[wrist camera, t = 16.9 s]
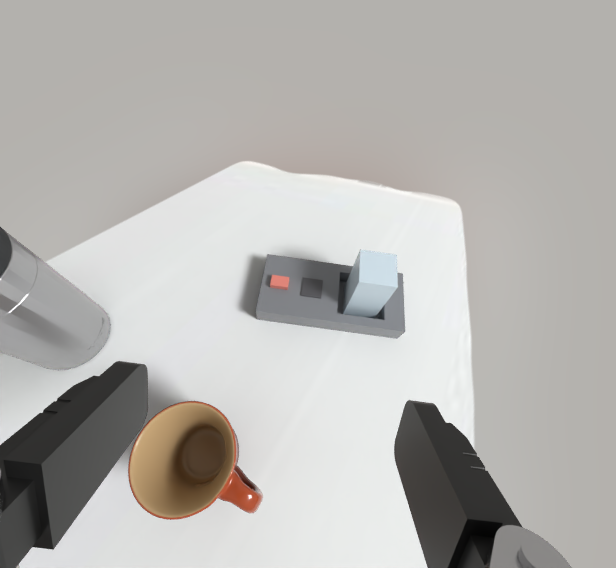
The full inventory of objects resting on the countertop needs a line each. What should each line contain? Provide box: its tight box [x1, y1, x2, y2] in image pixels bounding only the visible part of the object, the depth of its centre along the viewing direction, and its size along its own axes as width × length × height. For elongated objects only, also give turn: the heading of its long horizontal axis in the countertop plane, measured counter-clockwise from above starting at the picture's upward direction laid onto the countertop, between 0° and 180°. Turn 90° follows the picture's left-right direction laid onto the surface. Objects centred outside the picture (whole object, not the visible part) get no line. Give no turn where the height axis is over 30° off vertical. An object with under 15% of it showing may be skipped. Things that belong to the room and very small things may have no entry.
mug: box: [128, 401, 263, 520], centre depth 30 cm, size 12×9×10 cm
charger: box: [343, 250, 398, 318], centre depth 41 cm, size 4×5×10 cm
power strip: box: [256, 254, 405, 338], centre depth 44 cm, size 20×9×4 cm, turn 84°
